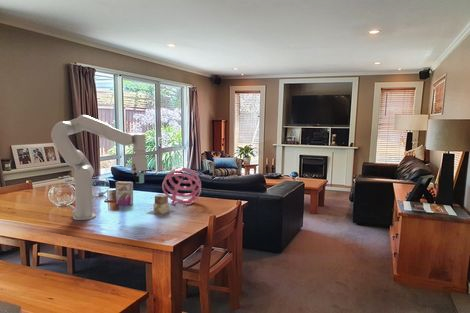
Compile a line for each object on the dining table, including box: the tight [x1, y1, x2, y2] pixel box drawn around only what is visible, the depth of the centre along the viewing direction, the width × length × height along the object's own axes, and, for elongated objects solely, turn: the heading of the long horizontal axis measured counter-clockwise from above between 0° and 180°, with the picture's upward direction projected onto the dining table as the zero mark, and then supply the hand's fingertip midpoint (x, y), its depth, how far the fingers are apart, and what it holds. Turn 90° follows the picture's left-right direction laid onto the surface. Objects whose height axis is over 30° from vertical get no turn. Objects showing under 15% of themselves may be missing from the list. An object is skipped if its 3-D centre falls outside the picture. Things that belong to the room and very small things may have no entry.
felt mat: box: [145, 209, 176, 217], centre depth 211 cm, size 14×14×1 cm
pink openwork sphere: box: [161, 167, 202, 206], centre depth 234 cm, size 28×28×27 cm
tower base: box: [153, 201, 170, 214], centre depth 211 cm, size 7×7×6 cm
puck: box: [135, 172, 145, 184], centre depth 204 cm, size 5×5×6 cm
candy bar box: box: [115, 180, 134, 206], centre depth 230 cm, size 11×5×16 cm, turn 84°
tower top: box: [154, 193, 169, 205], centre depth 210 cm, size 6×6×5 cm
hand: (139, 181), depth 204 cm, fingers closed on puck, 5 cm apart
